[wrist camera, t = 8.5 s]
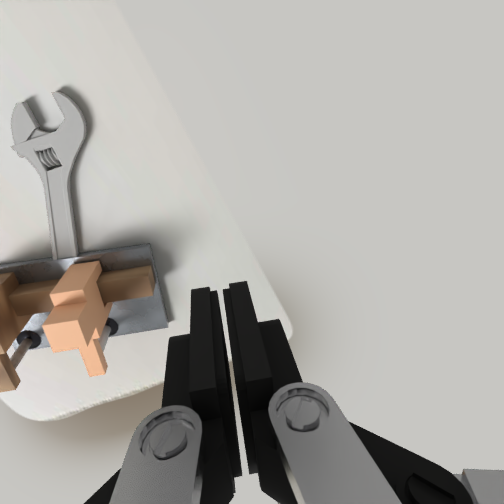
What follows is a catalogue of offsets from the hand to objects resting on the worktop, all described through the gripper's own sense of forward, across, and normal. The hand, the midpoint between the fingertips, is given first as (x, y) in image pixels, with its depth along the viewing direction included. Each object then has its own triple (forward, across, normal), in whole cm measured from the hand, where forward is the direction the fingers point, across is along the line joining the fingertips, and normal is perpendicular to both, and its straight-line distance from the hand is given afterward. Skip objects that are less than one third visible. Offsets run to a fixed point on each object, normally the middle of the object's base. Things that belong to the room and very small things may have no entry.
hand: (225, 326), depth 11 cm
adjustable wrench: (+30, +16, +4) cm, 34 cm away
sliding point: (+28, +14, +14) cm, 34 cm away
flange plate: (+29, +16, +14) cm, 36 cm away
